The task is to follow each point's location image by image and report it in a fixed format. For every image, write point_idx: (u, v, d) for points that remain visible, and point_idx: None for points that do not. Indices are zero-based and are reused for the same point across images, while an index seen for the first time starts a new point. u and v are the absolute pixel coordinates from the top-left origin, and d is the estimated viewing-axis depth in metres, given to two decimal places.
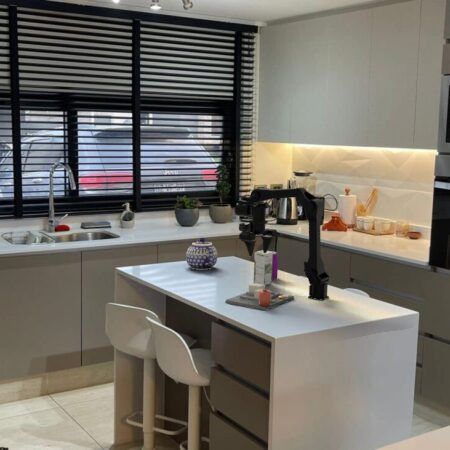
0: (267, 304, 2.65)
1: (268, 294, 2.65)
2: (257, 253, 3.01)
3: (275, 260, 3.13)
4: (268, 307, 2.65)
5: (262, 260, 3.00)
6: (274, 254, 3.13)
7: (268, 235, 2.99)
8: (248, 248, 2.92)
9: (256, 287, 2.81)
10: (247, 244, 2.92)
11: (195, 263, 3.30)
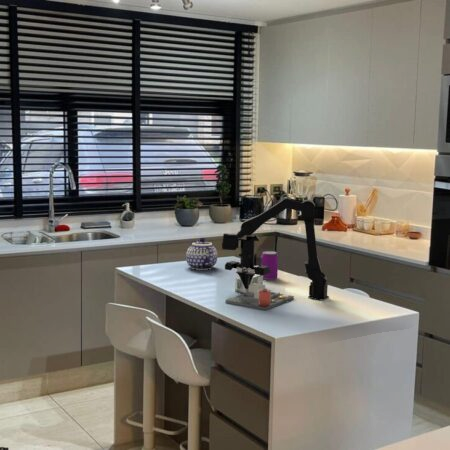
0: (267, 304, 2.65)
1: (268, 294, 2.65)
2: (238, 291, 2.92)
3: (275, 260, 3.13)
4: (268, 307, 2.65)
5: None
6: (274, 254, 3.13)
7: (248, 271, 2.84)
8: None
9: (256, 287, 2.81)
10: None
11: (195, 263, 3.30)
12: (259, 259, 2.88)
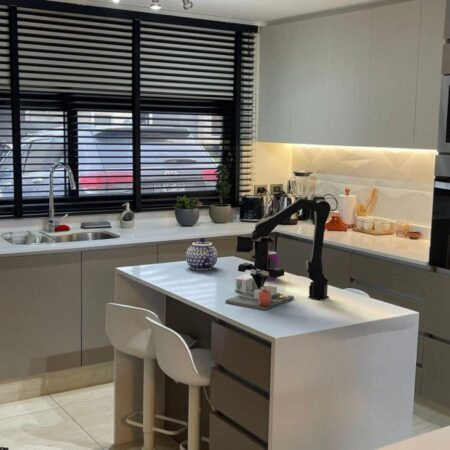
0: (267, 304, 2.65)
1: (268, 294, 2.65)
2: (238, 291, 2.92)
3: (275, 260, 3.13)
4: (268, 307, 2.65)
5: None
6: (274, 254, 3.13)
7: (262, 272, 2.80)
8: None
9: (268, 289, 2.78)
10: None
11: (195, 263, 3.30)
12: (273, 261, 2.84)
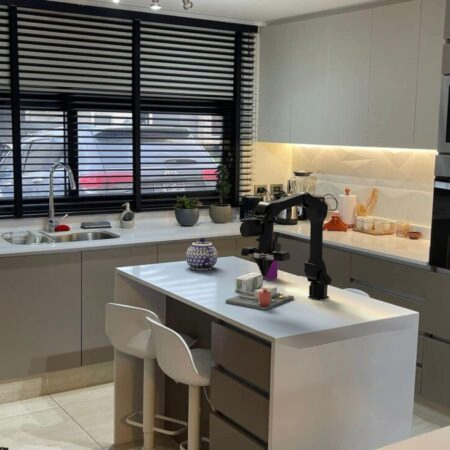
0: (267, 304, 2.65)
1: (268, 294, 2.65)
2: (238, 291, 2.92)
3: (275, 260, 3.13)
4: (268, 307, 2.65)
5: None
6: None
7: (267, 256, 2.63)
8: None
9: (268, 289, 2.78)
10: None
11: (195, 263, 3.30)
12: (278, 244, 2.67)
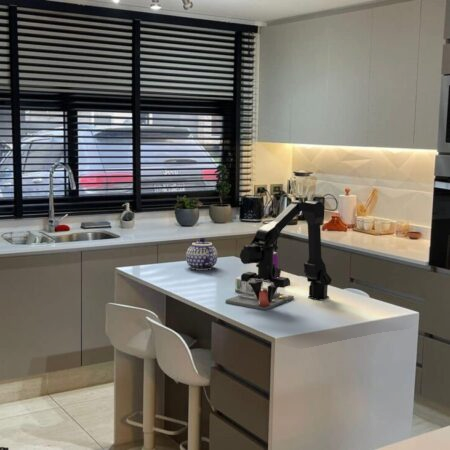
0: (267, 304, 2.65)
1: None
2: (238, 291, 2.92)
3: (275, 260, 3.13)
4: (268, 307, 2.65)
5: None
6: (274, 254, 3.13)
7: (271, 283, 2.63)
8: None
9: None
10: None
11: (195, 263, 3.30)
12: (278, 270, 2.68)
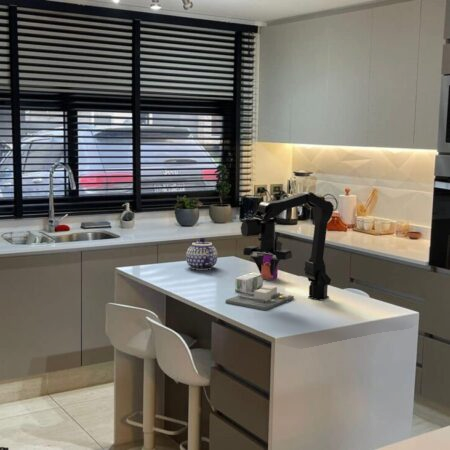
0: (270, 277, 2.69)
1: None
2: (238, 291, 2.92)
3: None
4: (268, 307, 2.65)
5: None
6: None
7: (273, 256, 2.67)
8: None
9: (268, 289, 2.78)
10: None
11: (195, 263, 3.30)
12: (279, 243, 2.73)
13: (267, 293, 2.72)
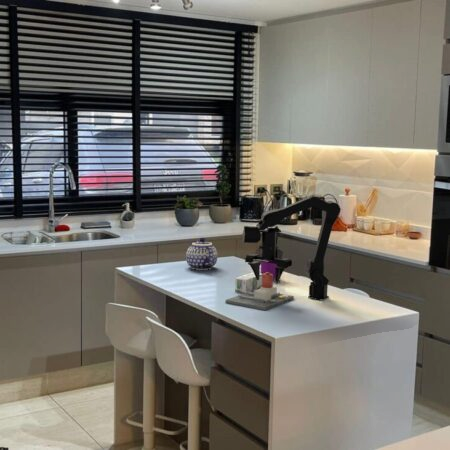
0: (270, 286, 2.79)
1: (271, 277, 2.78)
2: (238, 291, 2.92)
3: None
4: (268, 307, 2.65)
5: None
6: None
7: None
8: None
9: (268, 289, 2.78)
10: None
11: (195, 263, 3.30)
12: (280, 251, 2.82)
13: (267, 293, 2.72)
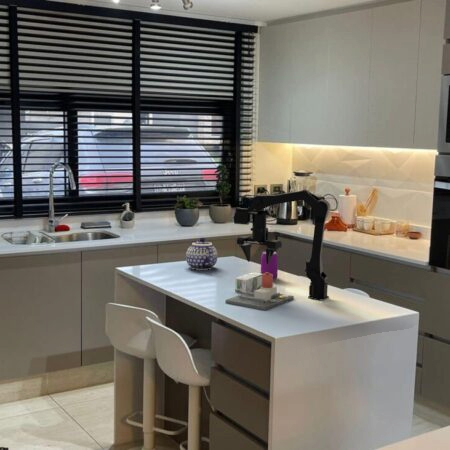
0: (270, 286, 2.79)
1: (270, 277, 2.79)
2: (238, 291, 2.92)
3: (275, 260, 3.13)
4: (268, 307, 2.65)
5: None
6: (274, 254, 3.13)
7: None
8: None
9: (268, 289, 2.78)
10: None
11: (195, 263, 3.30)
12: (270, 234, 2.90)
13: (267, 293, 2.72)
